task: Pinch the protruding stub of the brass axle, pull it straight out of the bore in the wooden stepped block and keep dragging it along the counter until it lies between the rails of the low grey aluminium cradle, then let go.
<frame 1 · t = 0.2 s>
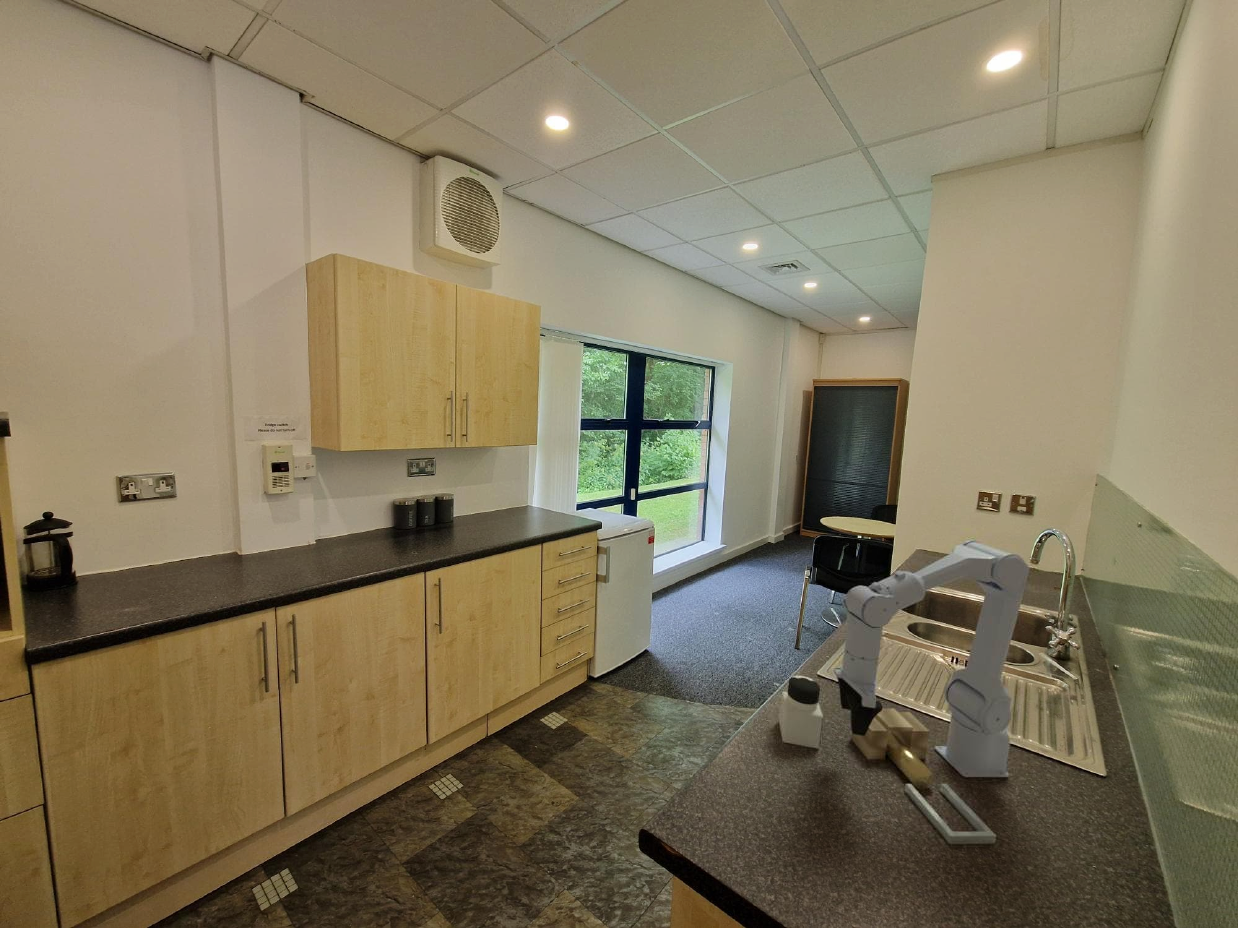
hand: (852, 720, 92), 10 cm above the countertop, fingers open, 7 cm apart
medicine bottle: (798, 735, 102), on the countertop
axle: (904, 769, 95), on the countertop
wooden stepped block: (887, 748, 100), on the countertop
cradle: (945, 813, 84), on the countertop
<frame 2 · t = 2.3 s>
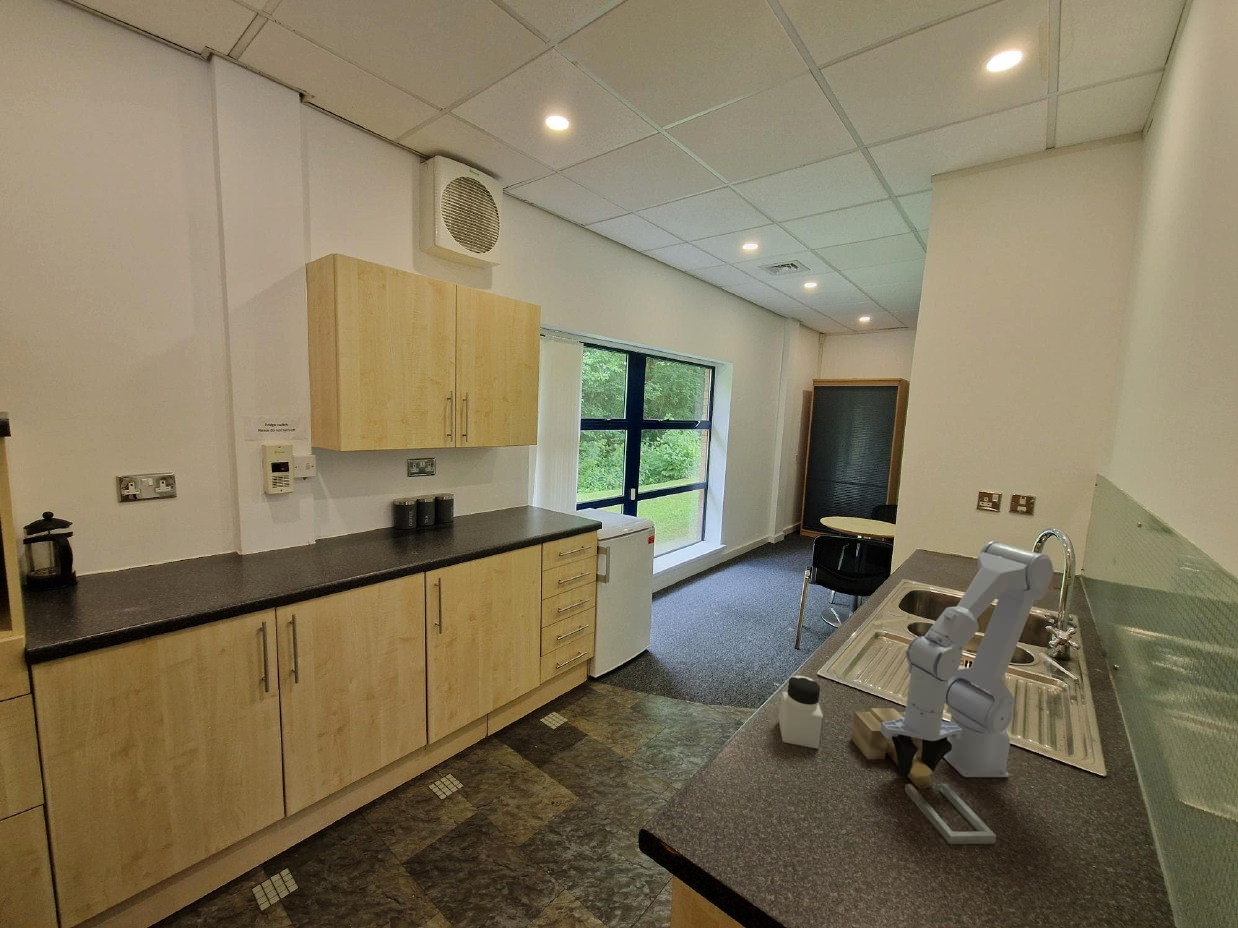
hand: (914, 771, 92), 1 cm above the countertop, fingers closed on axle, 4 cm apart
axle: (904, 768, 95), on the countertop, touching gripper
everything else where it was.
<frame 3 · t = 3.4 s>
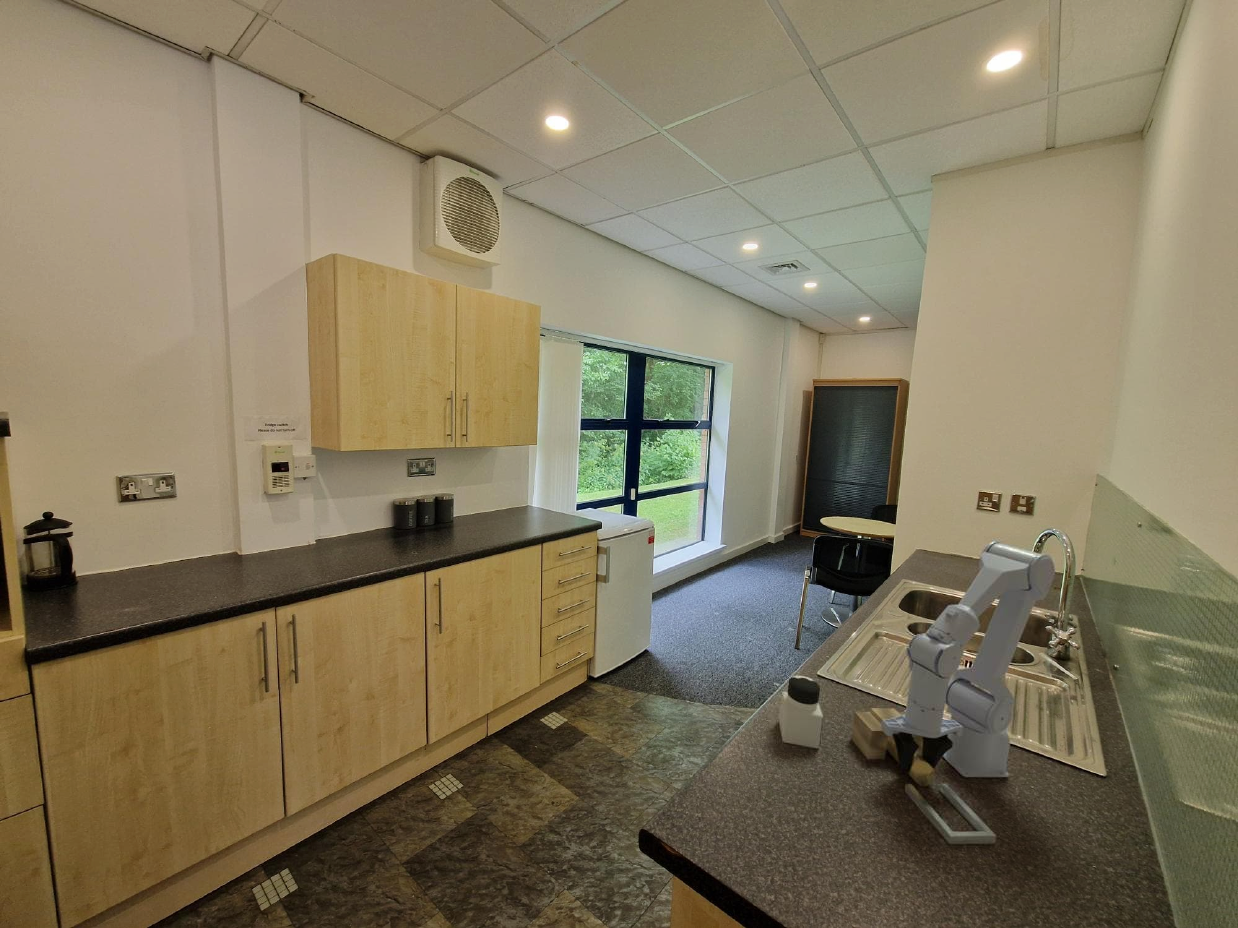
hand: (915, 768, 92), 2 cm above the countertop, fingers closed on axle, 4 cm apart
axle: (905, 765, 95), point 1 cm above the countertop, touching gripper
everything else where it was.
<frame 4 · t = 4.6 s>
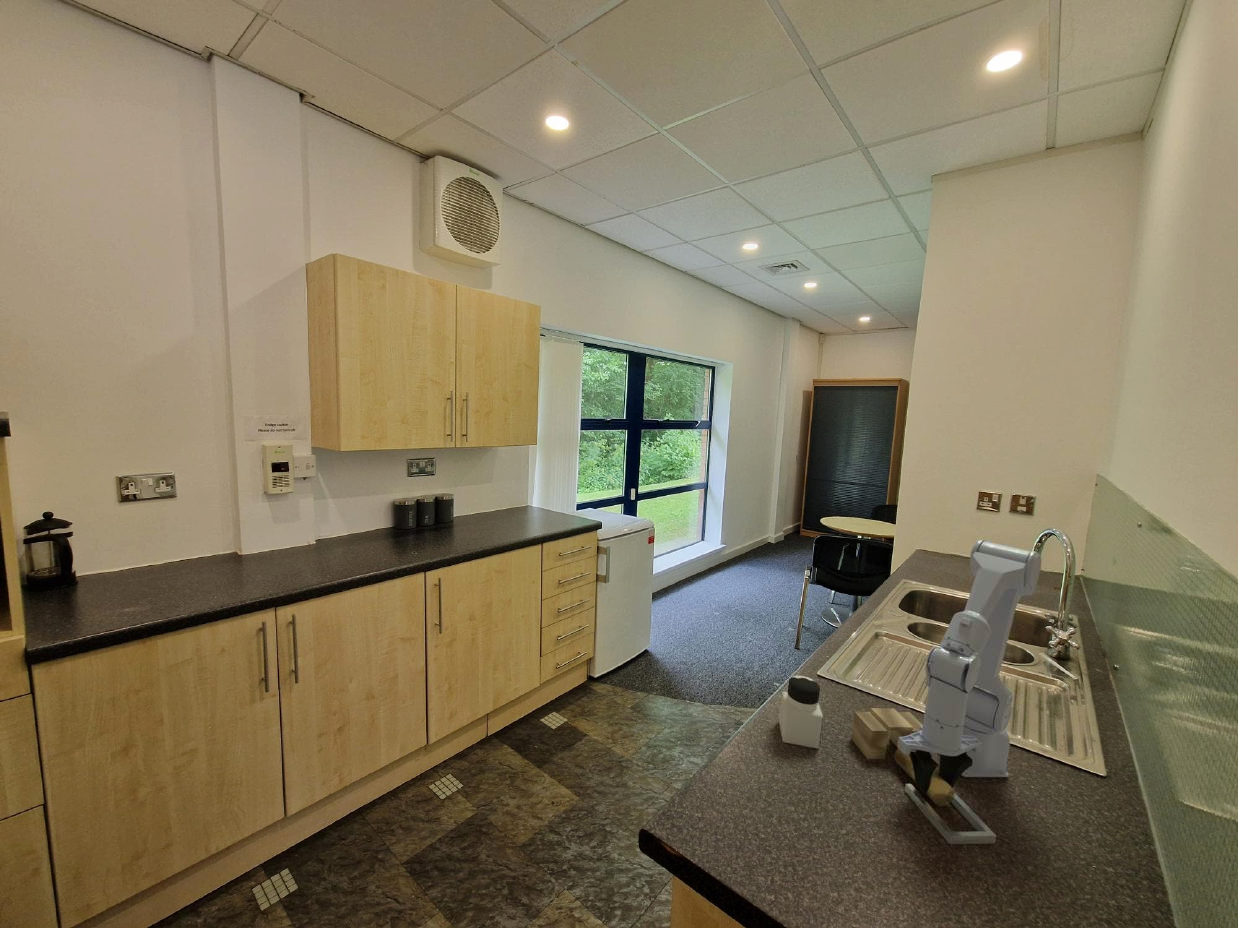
hand: (932, 787, 87), 2 cm above the countertop, fingers closed on axle, 4 cm apart
axle: (921, 783, 90), point 1 cm above the countertop, touching gripper
everything else where it was.
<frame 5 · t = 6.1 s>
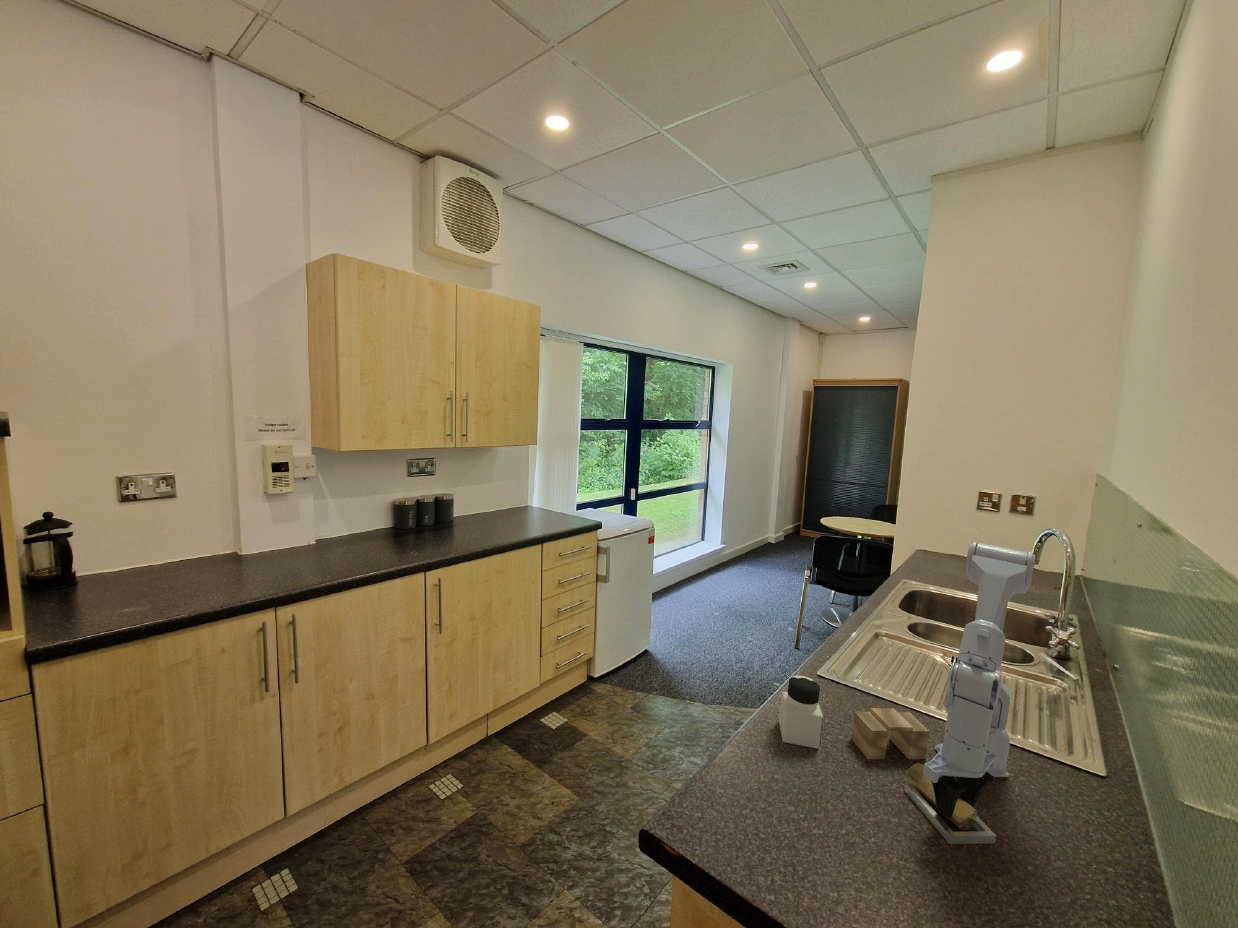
hand: (953, 810, 83), 2 cm above the countertop, fingers closed on axle, 4 cm apart
axle: (938, 804, 85), point 1 cm above the countertop, touching cradle, gripper
everything else where it was.
when the fingers open (2 cm above the countertop, at t = 7.0 s): axle stays where it is, resting on cradle.
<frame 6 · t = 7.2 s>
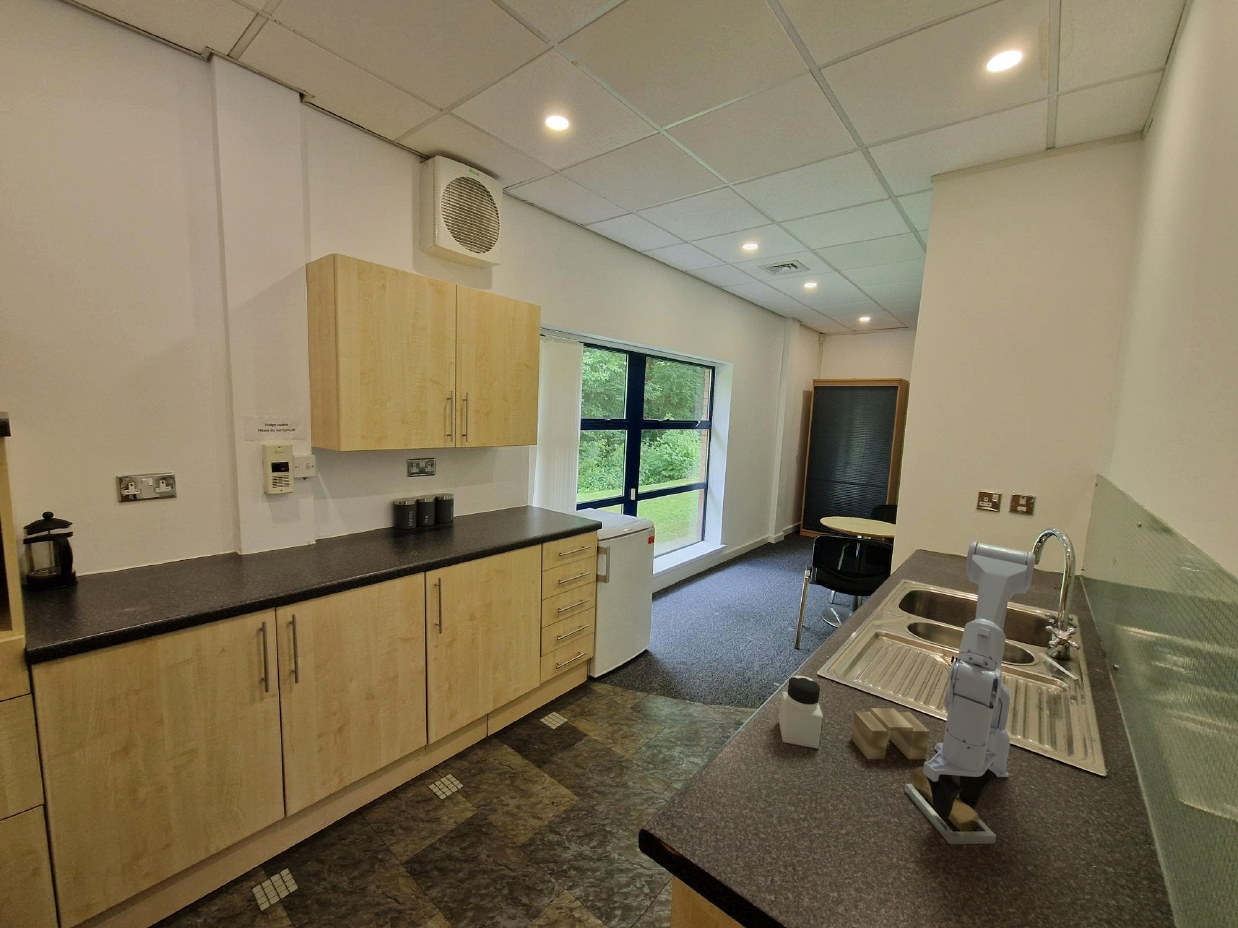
hand: (953, 809, 82), 2 cm above the countertop, fingers open, 5 cm apart
axle: (936, 808, 85), resting in cradle, tilted 27°
everything else where it was.
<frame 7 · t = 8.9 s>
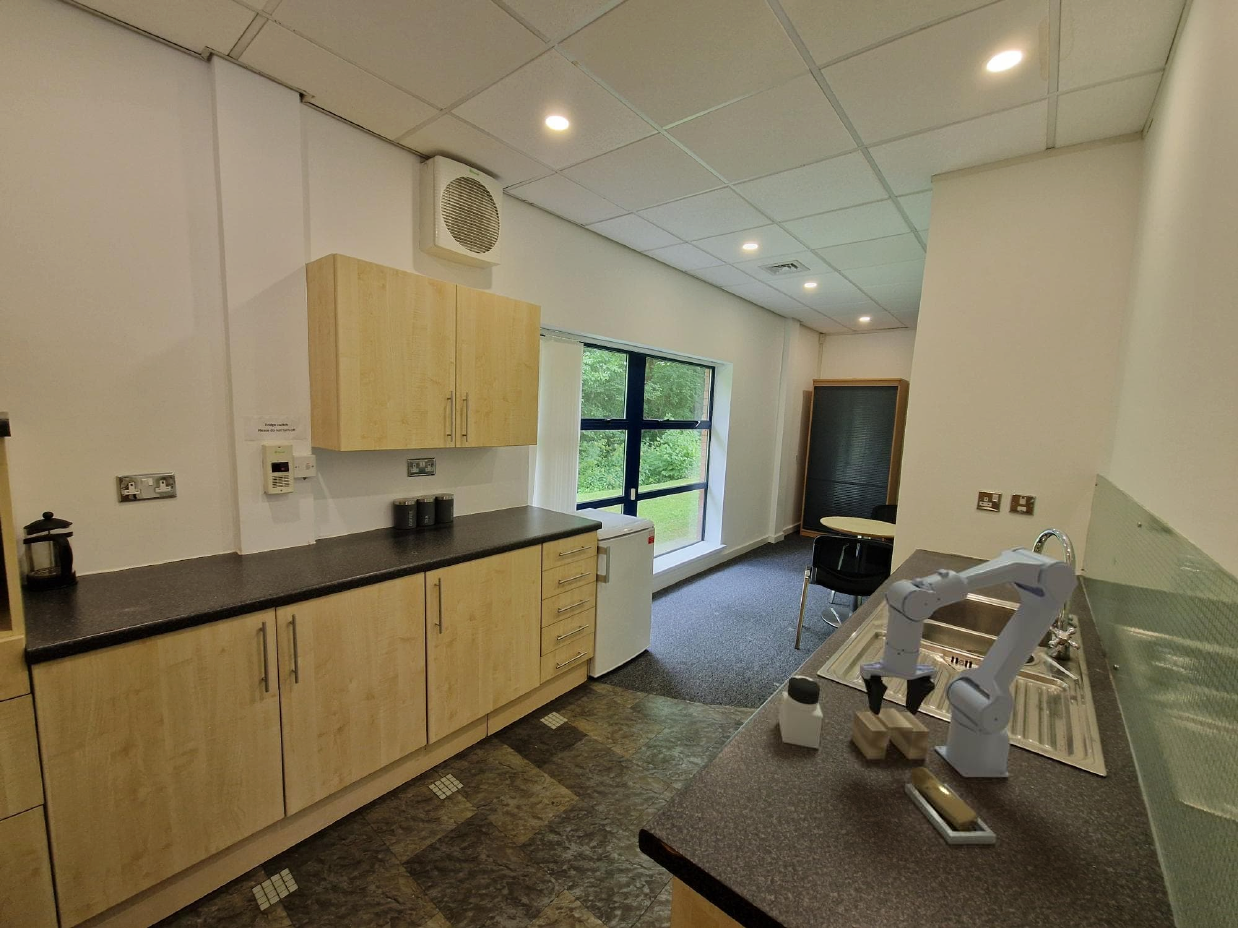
hand: (892, 711, 95), 10 cm above the countertop, fingers open, 7 cm apart
axle: (936, 808, 85), resting in cradle, tilted 26°
everything else where it was.
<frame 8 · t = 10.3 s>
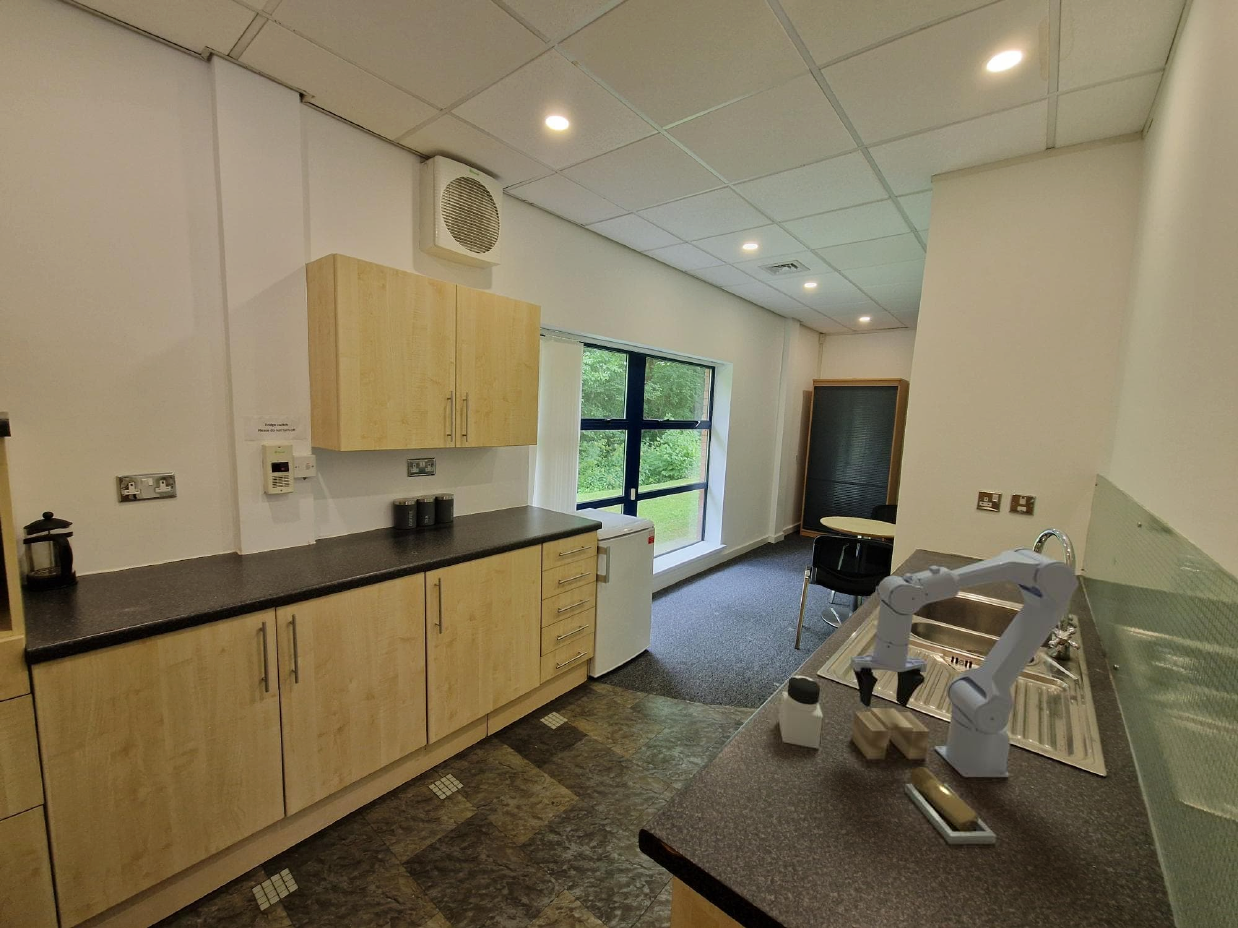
hand: (883, 703, 98), 10 cm above the countertop, fingers open, 7 cm apart
nothing on the countertop moved.
at the end: axle 0.9 cm from the target spot on the cradle, point 0.1 cm above the cradle's base; axle touching countertop; the gripper is holding nothing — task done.
